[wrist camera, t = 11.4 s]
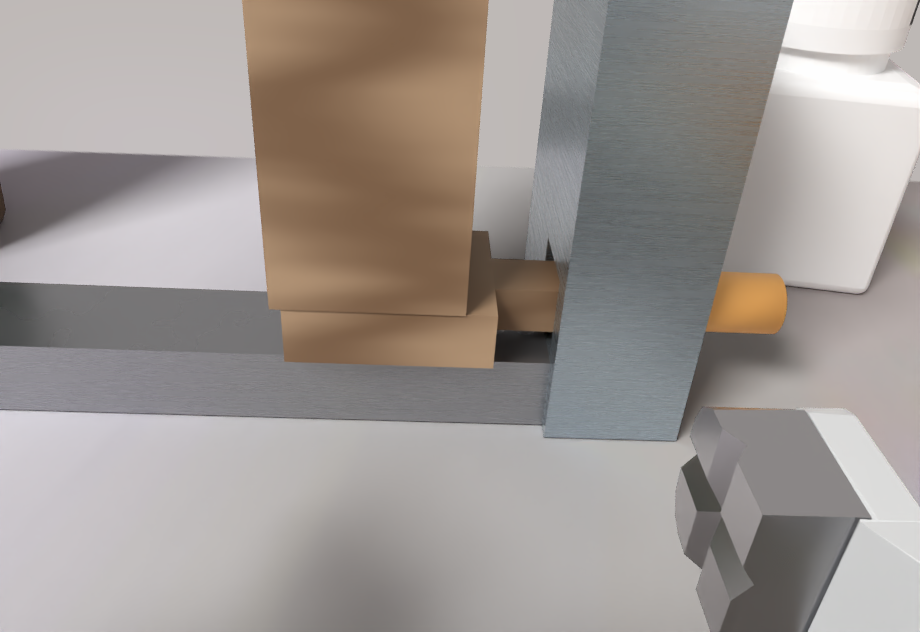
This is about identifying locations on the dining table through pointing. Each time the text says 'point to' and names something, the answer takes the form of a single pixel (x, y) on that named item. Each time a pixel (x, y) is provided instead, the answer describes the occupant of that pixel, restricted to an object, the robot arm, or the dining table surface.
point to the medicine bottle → (830, 148)
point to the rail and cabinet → (549, 239)
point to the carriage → (380, 184)
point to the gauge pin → (748, 303)
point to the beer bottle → (1, 205)
